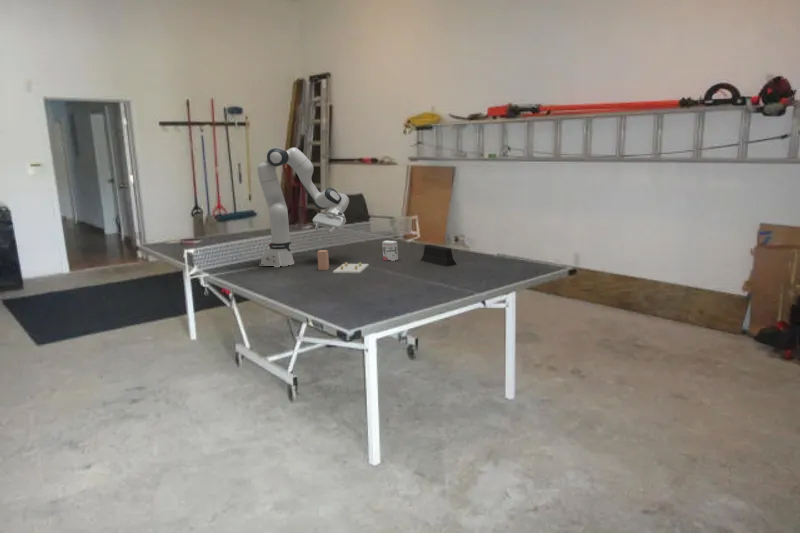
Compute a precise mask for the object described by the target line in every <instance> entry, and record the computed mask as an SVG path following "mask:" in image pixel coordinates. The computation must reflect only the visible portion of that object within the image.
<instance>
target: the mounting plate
mask: <svg viewBox="0 0 800 533" xmlns="http://www.w3.org/2000/svg"><path fill="white" fill-rule="evenodd" d="M369 265H370V264H369V263H362V262H358V263H349V262H344V263H342V264H341V265H340V266H338V267H337V268H336V269H334V270H333V271H332V273H333V274H361V273H362V272H363V271H364V270H366V269H367V268H368V267H369Z"/></svg>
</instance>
